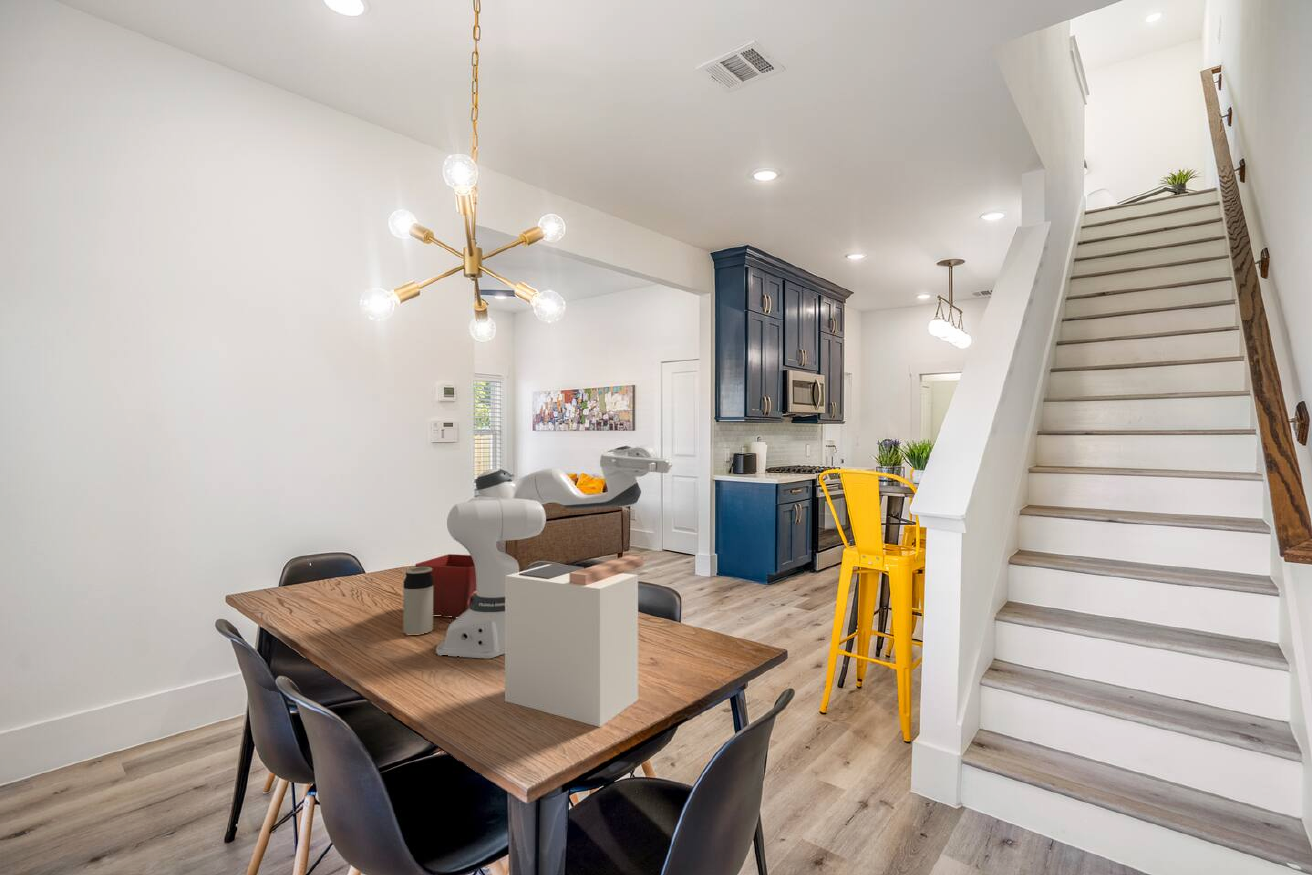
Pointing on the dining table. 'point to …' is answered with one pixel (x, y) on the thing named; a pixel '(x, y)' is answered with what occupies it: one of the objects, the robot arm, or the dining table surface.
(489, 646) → the robot arm
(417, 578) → the travel mug
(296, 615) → the dining table surface
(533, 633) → the tall white box
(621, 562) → the terracotta slat
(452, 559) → the plant pot
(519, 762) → the dining table surface
